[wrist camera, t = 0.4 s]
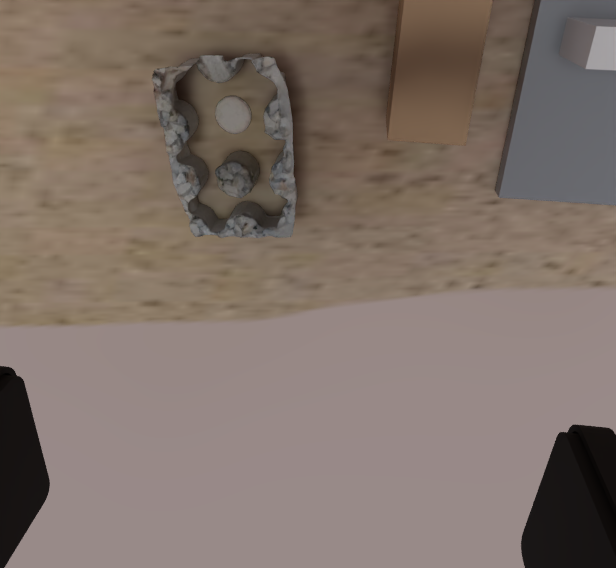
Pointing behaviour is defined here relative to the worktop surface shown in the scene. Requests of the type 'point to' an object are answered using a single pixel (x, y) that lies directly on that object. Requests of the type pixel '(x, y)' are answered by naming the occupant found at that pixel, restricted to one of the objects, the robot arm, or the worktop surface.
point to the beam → (436, 69)
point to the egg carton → (238, 165)
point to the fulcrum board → (564, 107)
